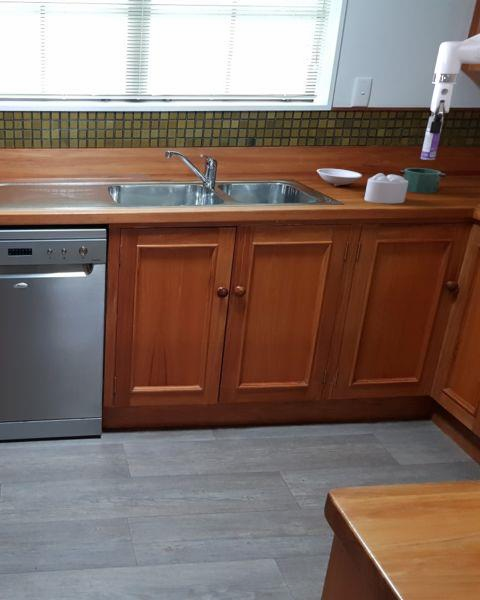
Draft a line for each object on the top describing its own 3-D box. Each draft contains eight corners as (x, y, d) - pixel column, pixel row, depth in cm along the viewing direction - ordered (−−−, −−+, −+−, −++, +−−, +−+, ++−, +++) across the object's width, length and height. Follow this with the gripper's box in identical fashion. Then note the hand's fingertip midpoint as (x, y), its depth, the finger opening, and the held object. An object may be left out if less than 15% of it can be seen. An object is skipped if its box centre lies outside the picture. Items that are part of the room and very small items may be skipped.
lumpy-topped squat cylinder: (408, 202, 211) (414, 177, 208) (376, 204, 208) (382, 179, 205) (387, 195, 221) (392, 171, 217) (356, 197, 217) (361, 173, 214)
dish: (368, 188, 231) (371, 175, 229) (341, 191, 225) (344, 178, 223) (332, 179, 246) (334, 167, 244) (305, 182, 240) (308, 170, 238)
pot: (438, 188, 233) (442, 169, 230) (443, 195, 223) (448, 175, 220) (395, 185, 238) (399, 166, 235) (398, 191, 228) (402, 172, 225)
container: (433, 158, 227) (442, 116, 221) (435, 160, 222) (445, 117, 217) (419, 157, 228) (428, 116, 222) (421, 159, 224) (430, 117, 218)
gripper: (461, 80, 206) (448, 135, 213) (453, 78, 220) (441, 129, 228) (436, 80, 208) (424, 134, 216) (429, 77, 223) (419, 129, 230)
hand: (433, 131), depth 221 cm, fingers closed on container, 4 cm apart
